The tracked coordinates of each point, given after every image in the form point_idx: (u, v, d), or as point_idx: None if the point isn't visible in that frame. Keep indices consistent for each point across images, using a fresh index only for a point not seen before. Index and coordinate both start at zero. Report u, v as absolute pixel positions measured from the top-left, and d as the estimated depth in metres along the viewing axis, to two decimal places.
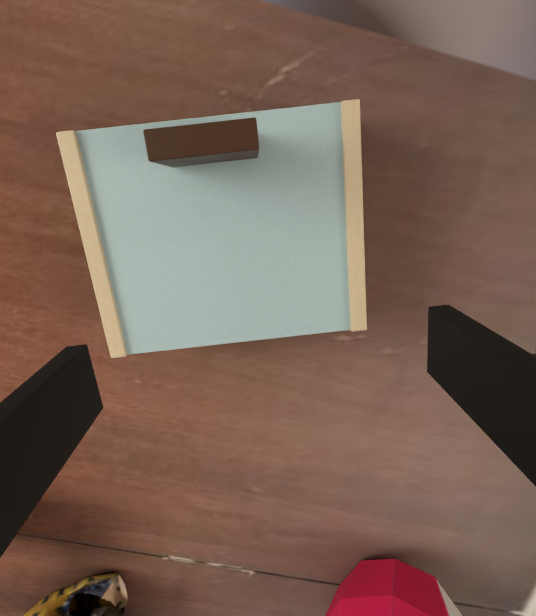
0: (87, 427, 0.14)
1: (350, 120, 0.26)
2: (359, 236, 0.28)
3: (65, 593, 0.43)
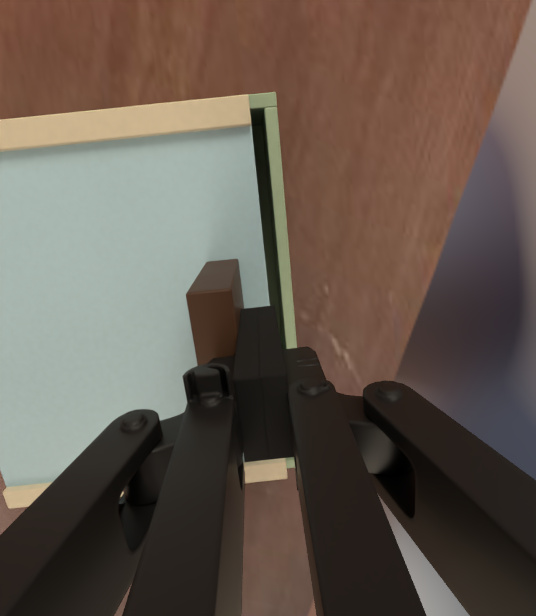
0: None
1: (265, 472, 0.22)
2: None
3: None
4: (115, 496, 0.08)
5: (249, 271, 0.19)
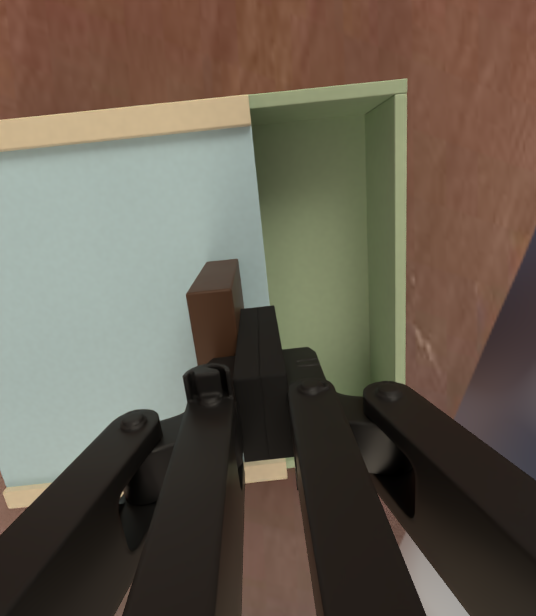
0: None
1: (265, 472, 0.22)
2: None
3: None
4: (115, 496, 0.08)
5: (249, 271, 0.19)
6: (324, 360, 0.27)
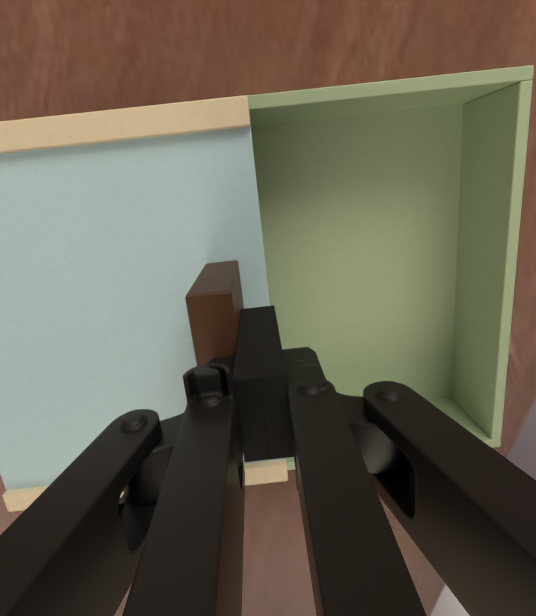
0: None
1: (266, 474, 0.22)
2: None
3: None
4: (115, 497, 0.08)
5: (249, 273, 0.19)
6: (407, 352, 0.27)
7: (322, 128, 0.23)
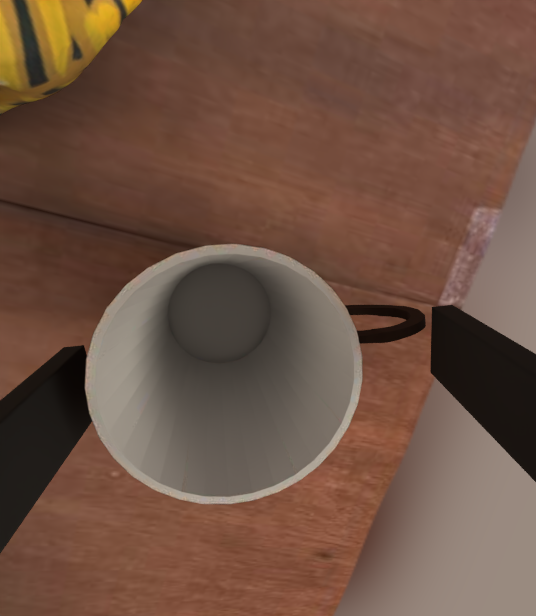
0: (84, 428, 0.14)
1: None
2: None
3: (7, 105, 0.17)
4: None
5: None
6: None
7: None
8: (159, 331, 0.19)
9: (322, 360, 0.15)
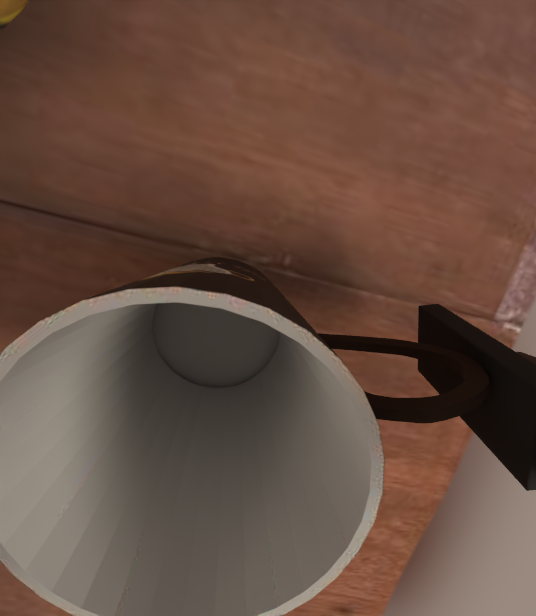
0: None
1: None
2: None
3: None
4: None
5: None
6: None
7: None
8: (134, 354, 0.15)
9: (330, 431, 0.11)
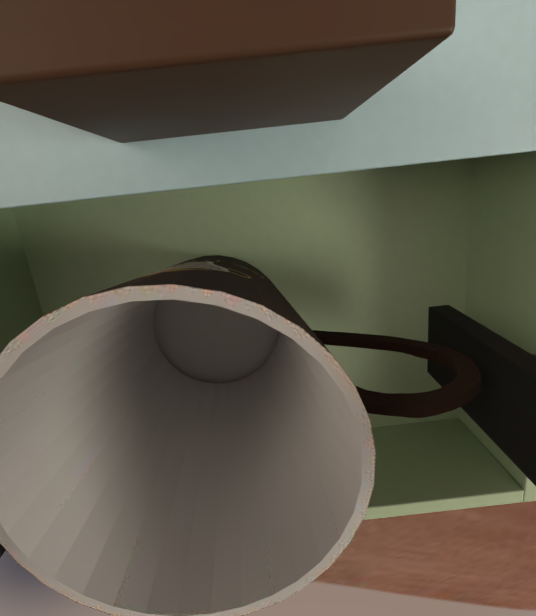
0: None
1: None
2: None
3: None
4: None
5: (318, 141, 0.10)
6: None
7: (456, 260, 0.17)
8: (135, 350, 0.15)
9: (325, 425, 0.11)
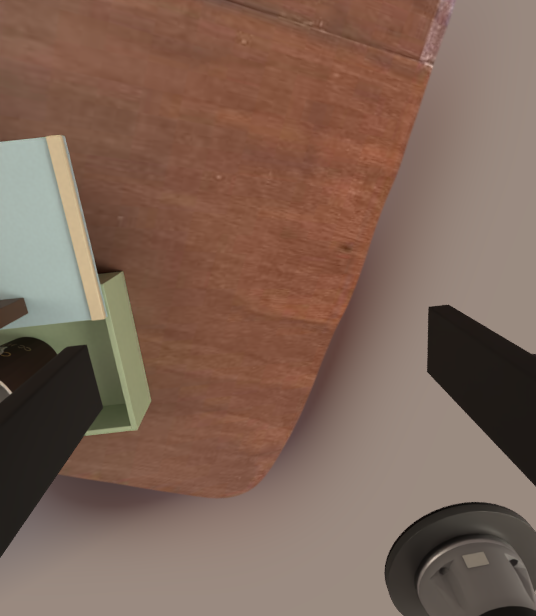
0: (87, 427, 0.14)
1: None
2: None
3: None
4: None
5: (22, 318, 0.37)
6: None
7: None
8: None
9: None
